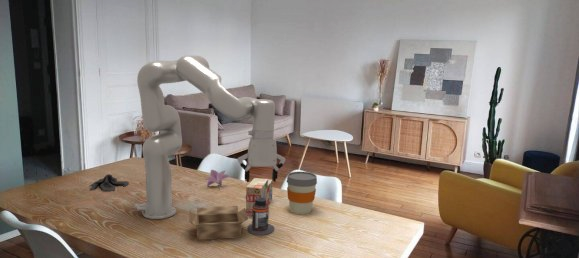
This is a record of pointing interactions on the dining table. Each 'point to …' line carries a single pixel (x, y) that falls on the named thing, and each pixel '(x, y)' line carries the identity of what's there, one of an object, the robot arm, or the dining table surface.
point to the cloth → (108, 184)
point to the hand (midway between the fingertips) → (260, 180)
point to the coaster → (265, 232)
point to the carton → (218, 222)
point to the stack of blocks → (258, 192)
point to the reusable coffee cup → (301, 191)
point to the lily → (216, 177)
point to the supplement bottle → (260, 214)
